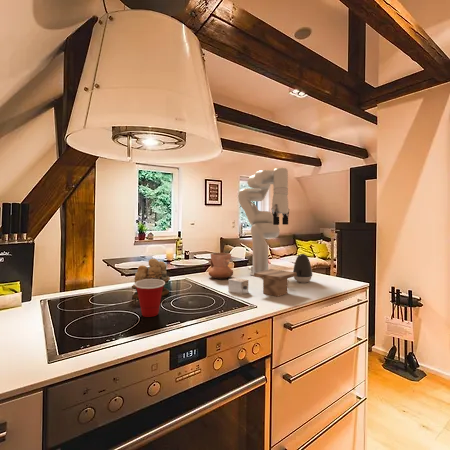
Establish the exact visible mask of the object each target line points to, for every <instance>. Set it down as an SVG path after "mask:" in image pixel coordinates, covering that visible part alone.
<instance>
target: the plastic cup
mask: <svg viewBox="0 0 450 450" xmlns="http://www.w3.org/2000/svg"><path fill="white" fill-rule="evenodd" d="M134 285H135V286H136V289H137V290H136V289H135V290H136V292H137V293H138V297H139V300H138V302H139V307H140V312H141V315H142V317H144V318H152V317H156V316H158V315H159V312H160V306H161V300H162V297H161V295H162V290H163V286H164V287H165V285H166V284H165V281H163V280H159V279H144V280H140V281H137V282H134Z"/></svg>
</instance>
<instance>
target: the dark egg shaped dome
mask: <svg viewBox="0 0 450 450" xmlns="http://www.w3.org/2000/svg"><path fill="white" fill-rule="evenodd" d="M292 272H296V273H297V276H294V277H293V279H294V280H295V281H296V282H297V283H300V284H301V283H303V284H306V283H308V282H310V281H311V279H312V277H313V270H312V264H311V262H310V259H309V257H308V256H307V254H305V253H300V254H299V255H297V257H296V259H295V262H294V265H293V269H292Z"/></svg>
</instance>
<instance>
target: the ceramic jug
mask: <svg viewBox="0 0 450 450" xmlns="http://www.w3.org/2000/svg"><path fill="white" fill-rule="evenodd" d="M231 258H232V253H228V252H213V253H212V252H211V253H210V261H209V264H210V269H209V270H208V275H209V277H211V278H213V279H218V280H223V279H224V280H225V279H230V278H231V277H232V276H233V275H234V270H233V269H232V268H231V267H229V264H230V262H232V261H231Z"/></svg>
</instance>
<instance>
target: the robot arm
mask: <svg viewBox="0 0 450 450" xmlns="http://www.w3.org/2000/svg"><path fill="white" fill-rule="evenodd" d="M247 185H248V188H247V187H246V188H242V189H240V190H239V191H238V195H237V198H238V202H239V205H240V207H241V209H243V211H244V212H245V215H246V218H247V221H248V222H249V224H250V225H251V228H250V234H251V240H252V266H249V267H248V269H247V270H249V271H250V272H249V274H250V276H253V277H255V276H254V273H257V272H261V271H265V270H269V244H268V243H267V241H266V239H276V238H278V237H279V236H280V234H281V233H280V227H279V226H280V216H279V215H280V214H281V215H282V219H281V221H282V225H283V226H284V225H286V226H287V225H289V217H290V216H289V215H290V208H289V198H288V197H289V196H288V195H289V170H288V169H287V168H286V167H277V168H274V169H272V170H271V169H267V170H266V169H261V170H258V171H255V173H254V174H253V175H251V176H249V177H248V179H247ZM271 185H272V186H273V187H272V188H273V189H272V191H273V195H272V199H271V200H272V203H271V205H272V206H271V212H270V211H267V210H266V211H265V210H264V211H262V210H259V208H258V206H257V205H256V204H255V203H254V202H262V201H264V200H265V198H266V196H267V194H268V192H269V189H270V187H271ZM249 187H250V188H249Z"/></svg>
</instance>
